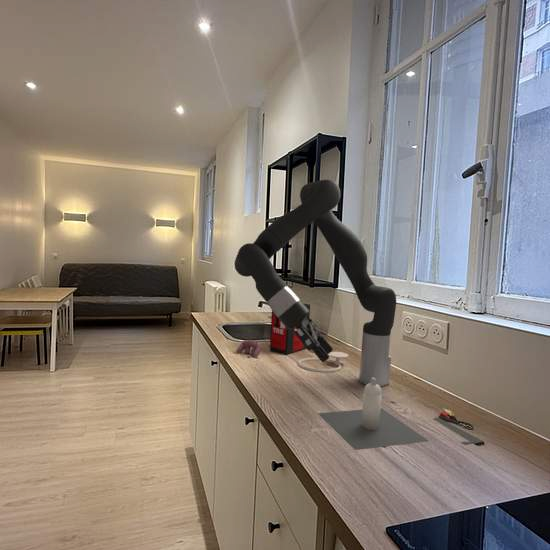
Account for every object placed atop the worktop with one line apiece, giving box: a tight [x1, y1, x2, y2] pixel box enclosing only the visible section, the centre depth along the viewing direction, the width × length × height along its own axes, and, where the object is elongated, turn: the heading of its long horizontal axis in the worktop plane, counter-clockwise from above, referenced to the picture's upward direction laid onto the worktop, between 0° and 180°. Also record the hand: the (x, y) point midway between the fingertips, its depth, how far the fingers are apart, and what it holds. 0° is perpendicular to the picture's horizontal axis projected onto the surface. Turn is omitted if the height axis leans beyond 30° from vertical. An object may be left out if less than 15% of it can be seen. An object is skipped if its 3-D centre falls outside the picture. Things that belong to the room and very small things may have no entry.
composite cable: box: [437, 408, 474, 429], centre depth 110 cm, size 10×5×2 cm, turn 25°
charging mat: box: [317, 407, 430, 451], centre depth 103 cm, size 20×20×1 cm
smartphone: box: [432, 417, 485, 446], centre depth 104 cm, size 7×1×15 cm
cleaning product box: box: [269, 302, 311, 356], centre depth 177 cm, size 16×9×20 cm, turn 144°
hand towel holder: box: [297, 351, 349, 373], centre depth 157 cm, size 17×4×21 cm
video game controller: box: [236, 339, 263, 358], centre depth 167 cm, size 10×5×7 cm, turn 58°
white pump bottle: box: [361, 377, 383, 430], centre depth 103 cm, size 4×4×12 cm
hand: (328, 356), depth 105 cm, fingers open, 8 cm apart
